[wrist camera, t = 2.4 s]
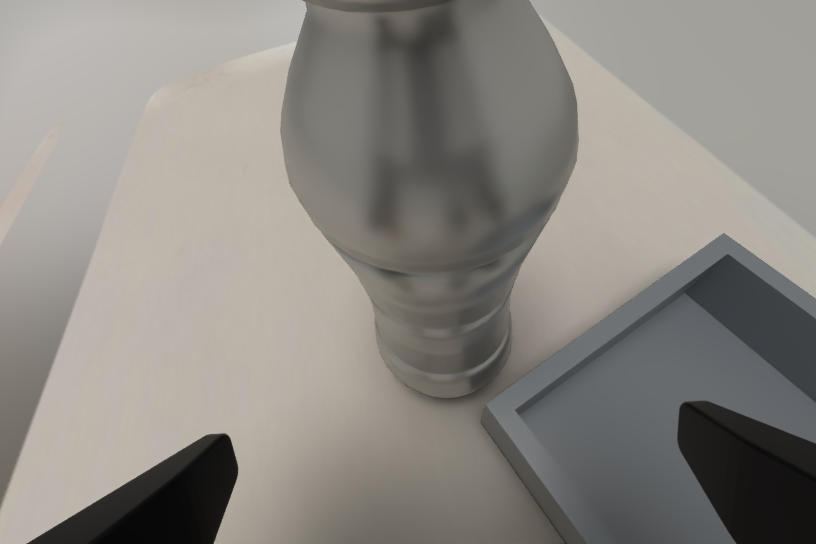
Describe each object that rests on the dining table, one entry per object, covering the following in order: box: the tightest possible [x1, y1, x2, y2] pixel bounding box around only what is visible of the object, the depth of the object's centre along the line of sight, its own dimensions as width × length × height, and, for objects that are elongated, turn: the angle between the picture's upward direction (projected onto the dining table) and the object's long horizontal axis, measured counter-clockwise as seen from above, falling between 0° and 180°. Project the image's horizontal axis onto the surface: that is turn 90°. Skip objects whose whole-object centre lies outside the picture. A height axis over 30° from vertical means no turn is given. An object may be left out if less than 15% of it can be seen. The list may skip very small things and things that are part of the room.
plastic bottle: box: [280, 0, 579, 398], centre depth 13 cm, size 6×7×20 cm
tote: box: [481, 233, 816, 544], centre depth 15 cm, size 14×14×4 cm
